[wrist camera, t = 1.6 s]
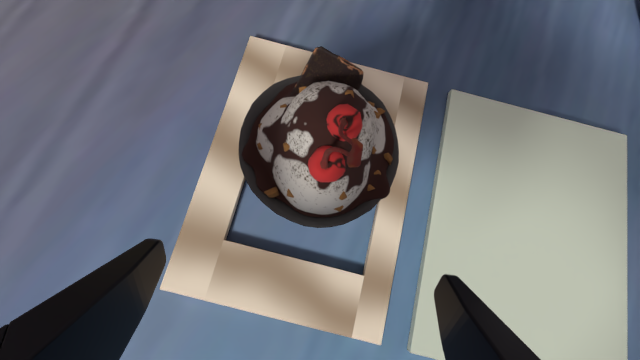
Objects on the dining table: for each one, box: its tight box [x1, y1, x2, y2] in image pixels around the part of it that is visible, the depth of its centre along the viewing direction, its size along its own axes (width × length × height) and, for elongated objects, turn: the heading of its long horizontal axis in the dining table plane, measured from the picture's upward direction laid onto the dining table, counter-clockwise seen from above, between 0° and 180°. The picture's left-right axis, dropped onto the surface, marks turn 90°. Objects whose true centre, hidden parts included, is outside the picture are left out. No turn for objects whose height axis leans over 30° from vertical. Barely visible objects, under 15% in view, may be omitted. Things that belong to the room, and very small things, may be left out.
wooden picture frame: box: [160, 36, 428, 345], centre depth 22 cm, size 20×15×1 cm
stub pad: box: [407, 89, 627, 360], centre depth 22 cm, size 20×15×1 cm
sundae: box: [239, 46, 399, 228], centre depth 14 cm, size 7×7×15 cm
